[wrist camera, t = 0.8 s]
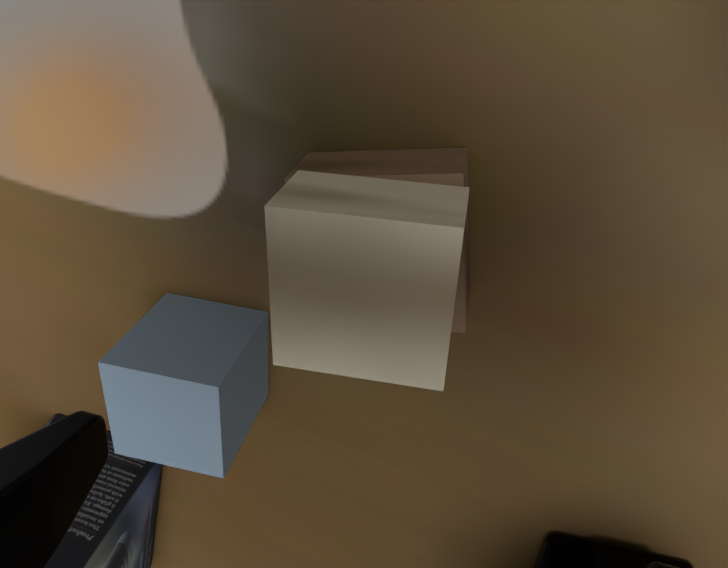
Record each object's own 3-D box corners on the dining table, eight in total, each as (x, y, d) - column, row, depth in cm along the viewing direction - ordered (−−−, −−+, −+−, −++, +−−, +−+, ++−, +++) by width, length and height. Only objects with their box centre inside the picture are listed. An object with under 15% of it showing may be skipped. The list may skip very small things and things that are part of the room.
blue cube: (268, 394, 26) (223, 478, 22) (176, 374, 27) (114, 453, 23) (268, 311, 24) (218, 387, 20) (167, 291, 25) (97, 362, 20)
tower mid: (450, 334, 20) (443, 391, 17) (301, 313, 20) (273, 364, 18) (469, 187, 17) (464, 227, 14) (298, 170, 18) (264, 206, 15)
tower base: (469, 289, 22) (465, 333, 19) (329, 286, 23) (307, 327, 21) (468, 144, 19) (463, 173, 17) (310, 150, 21) (283, 177, 18)
